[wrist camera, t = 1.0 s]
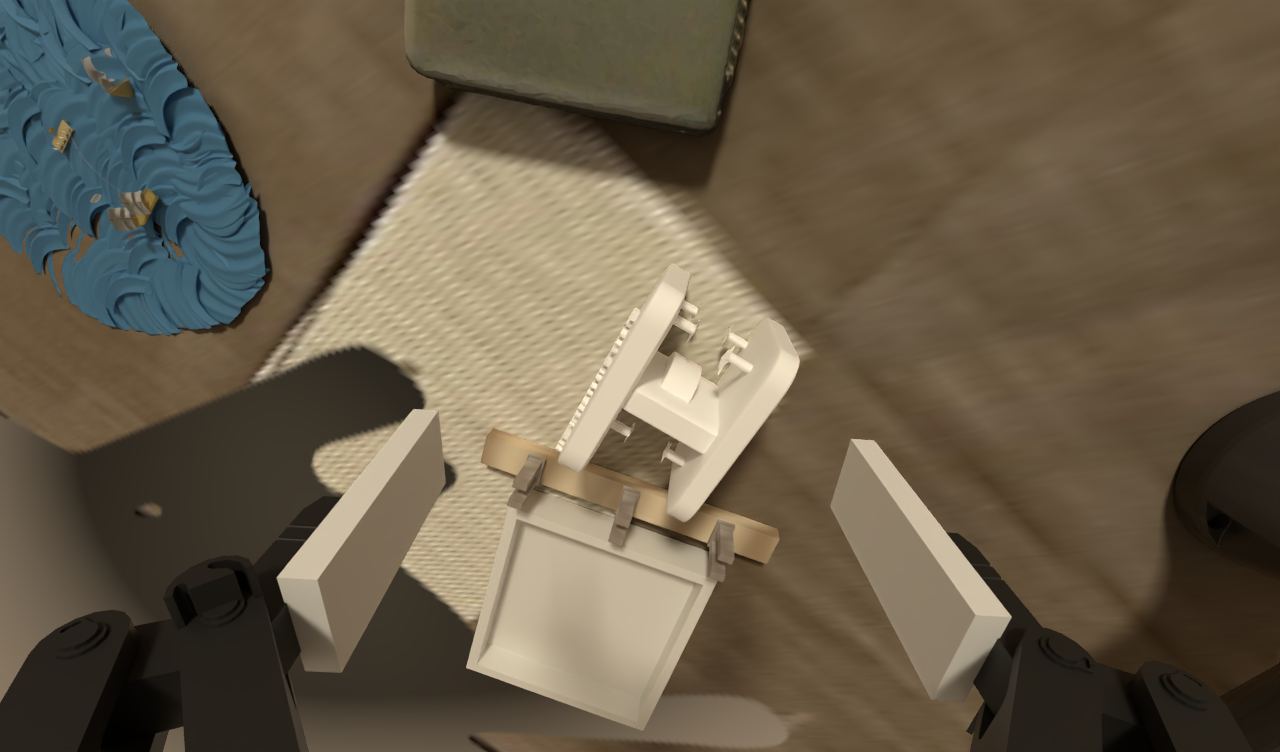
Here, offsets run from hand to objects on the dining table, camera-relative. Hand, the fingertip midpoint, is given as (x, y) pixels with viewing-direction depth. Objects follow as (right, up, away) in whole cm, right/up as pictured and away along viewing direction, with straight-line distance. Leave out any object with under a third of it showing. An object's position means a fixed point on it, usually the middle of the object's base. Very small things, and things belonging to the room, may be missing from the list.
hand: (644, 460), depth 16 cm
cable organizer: (+3, +4, +27) cm, 27 cm away
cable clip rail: (-1, -8, +31) cm, 32 cm away
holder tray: (-5, -21, +37) cm, 43 cm away
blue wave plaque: (-45, +20, +28) cm, 57 cm away
